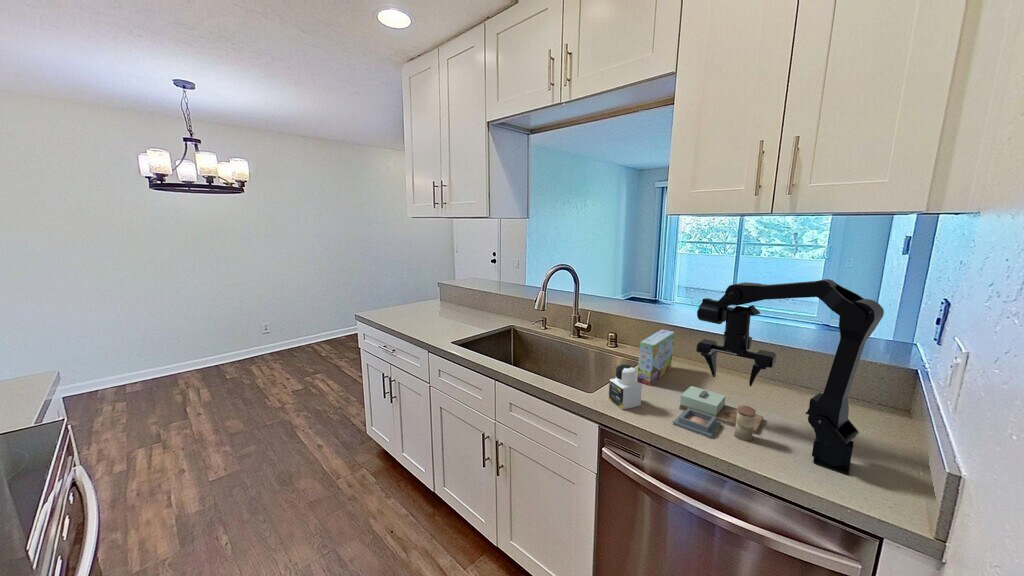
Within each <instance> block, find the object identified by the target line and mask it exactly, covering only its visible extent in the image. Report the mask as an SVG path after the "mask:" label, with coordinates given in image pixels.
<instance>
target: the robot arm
mask: <svg viewBox="0 0 1024 576" xmlns="http://www.w3.org/2000/svg"><path fill="white" fill-rule="evenodd" d="M799 298H800V299H802V298H804V299H805V298H817V299H819V300H821V302H822V303H824V304H825V305H826V306H827V307H828V308H829V309H830V310H831V311H833V312H834V313H835V314H837V315H838V316H839V318H838V330H839V336H840V339H839V343H838V345H837V348H836V352H835V356H834V359H833V362H832V365H831V368H830V371H829V374H828V378H827V381H826V384H825V387H824V391H823V393H821V392H819V393H817V394H815V395H813V396H812V397H811V398H810V399H809V407H808V410H807V411H806V412H805V415H808V416H807V421H808V423H809V424H810V426H811V428H813V430H814V434H815V437H814V439H813V446H812V451H811V456H812V457H813V460H812V462H813V464H816V465H818V466H822V467H824V468H827V469H830V470H833V471H836V472H838V473H841V474H844V475H850V471H851V461H852V456H853V455H852V454H853V449H854V443H855V442H854V441H853V439H855V438H856V437H857V436H858V434H859V430H858V429H857V428H856V427H855V424H853V423H852V422H851V420H850V419H849V410H850V408H849V407H850V406H849V405H850V404H849V400H848V399H849V398H848V396H849V392H850V390H851V387H852V384H853V380H854V377H855V374H856V373H857V369H858V366H859V364H860V363H859V362H860V360H861V356H862V354H863V352H864V347H865V345H866V342H867V340H869V338H870V337H871V336H872V334H873V333H874V331H875V330H876V329H877V326H879V323H880V322H881V320H882V318H883V317H884V312H885V311H884V308H883V307H882V305H881V304H880V303H879V302H877V301H876V300H874V299H869V298H864V297H862V296H861V295H859V294H858V293H856V292H854V291H852V290H850V289H848V288H847V287H843V286H841V285H840V284H838V283H836V282H835V281H834V280H832V279H829V278H825V279H820V280H819V279H818V280H812V281H811V280H810V281H800V282H786V283H785V282H784V283H773V284H765V283H764V284H763V283H758V282H740V283H733V284H730V285H728V286H727V288H726V289H725V292H724V295H722V297H721V298H719V299H718V300H716V299H712V298H709V297H705V298H702V300H701V301H702V302H701V303H700V305H699V307H698V308H697V311H696V316H697V319H698V320H699V321H701V322H702V321H703V322H706V323H711V324H716V325H721V324H723V323H725V327H724V332H723V345H718V342H717V341H716V340H712V339H706V338H704V339H702V340H701V341H699V342H697V344H696V349H695V350H696V353H700V356H702V357H704V359H705V362H707V364H708V367H709V370H710V372H711V375H712V377H713V378H716V377H717V376H716V375H717V355H718V353H722V354H727V355H731V356H735V357H740V358H744V359H749V360H754V363H753V364H752V368H751V372H750V377H749V383H748V385H749V387H752V385H753V384H754V383H755V380H756V378H757V376H758V374H759V373H760V371H761V370H767V368H773V367H774V366H775V365H776V363H777V354H776V353H775V352H773V351H769V350H764V349H763V350H762V349H759V350H758V351H757V352H754V351H749V350H750V349H751V346H752V342H753V337H751V336H750V325H751V317H754V316H759V315H760V314H761V312H760V310H759V309H758V308H756V307H755V305H754V304H752V305H749V306H747V307H746V306H741V305H745V304H751V303H755V302H759V301H764V300H783V299H785V300H787V299H799ZM730 306H735V307H730Z"/></svg>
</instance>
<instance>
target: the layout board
mask: <svg viewBox="0 0 1024 576" xmlns="http://www.w3.org/2000/svg"><path fill="white" fill-rule="evenodd" d="M688 408H690V407H687V406H683V405H680V404H679V410H682V411H684V410H685V411H686V410H687V409H688ZM690 409H693V408H690ZM693 410H696V409H693ZM697 411H699V410H697ZM700 412H702V411H700ZM703 413H705V412H703ZM706 414H708V413H706ZM709 415H711V414H709ZM712 416H714V415H712ZM715 417H716V421H718V422H721V424H725V425H727V426H730V427H734V428H735V426H736V418H737V408H736V407H733V406H730V405H727V404H725V405H724V406H723V408H722V409H721V410H720V411H719V413H718V414H717V415H716V416H715ZM763 421H764V416H763V415H760V414H757V413H756V414H755V420H754V428H753V435H756V433H757V432H758V429H759V428H760V426H761V424H762V423H763Z"/></svg>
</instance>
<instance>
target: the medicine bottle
mask: <svg viewBox="0 0 1024 576" xmlns="http://www.w3.org/2000/svg"><path fill="white" fill-rule="evenodd" d="M615 369H616V370H615V378H610V379H609V386H608V387H609V389H608V400H609V401H610V402H611V403H613V404H614V405H615V406H617V407H618V408H619V409H621V410H622V411H623V410H627V409H632V408H636V407H640V406H641V405H642V392H643V391H642V389H643V385H642V383H641V382H638V381H637V372H638V369H637V368H636V367H634V366H632V365H630V364H620V365H617V366H616V368H615Z"/></svg>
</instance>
